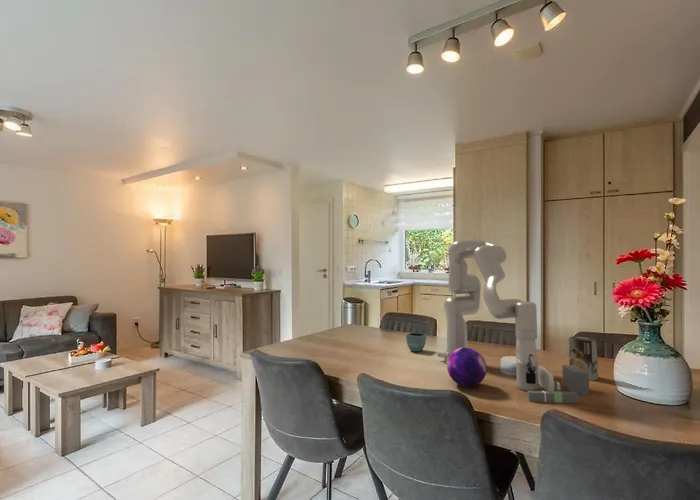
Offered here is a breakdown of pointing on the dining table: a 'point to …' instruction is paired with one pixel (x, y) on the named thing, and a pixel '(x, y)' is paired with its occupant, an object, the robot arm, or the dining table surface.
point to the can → (522, 376)
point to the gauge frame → (572, 380)
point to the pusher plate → (547, 380)
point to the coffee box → (584, 355)
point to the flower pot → (416, 341)
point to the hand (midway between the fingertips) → (527, 379)
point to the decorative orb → (466, 367)
